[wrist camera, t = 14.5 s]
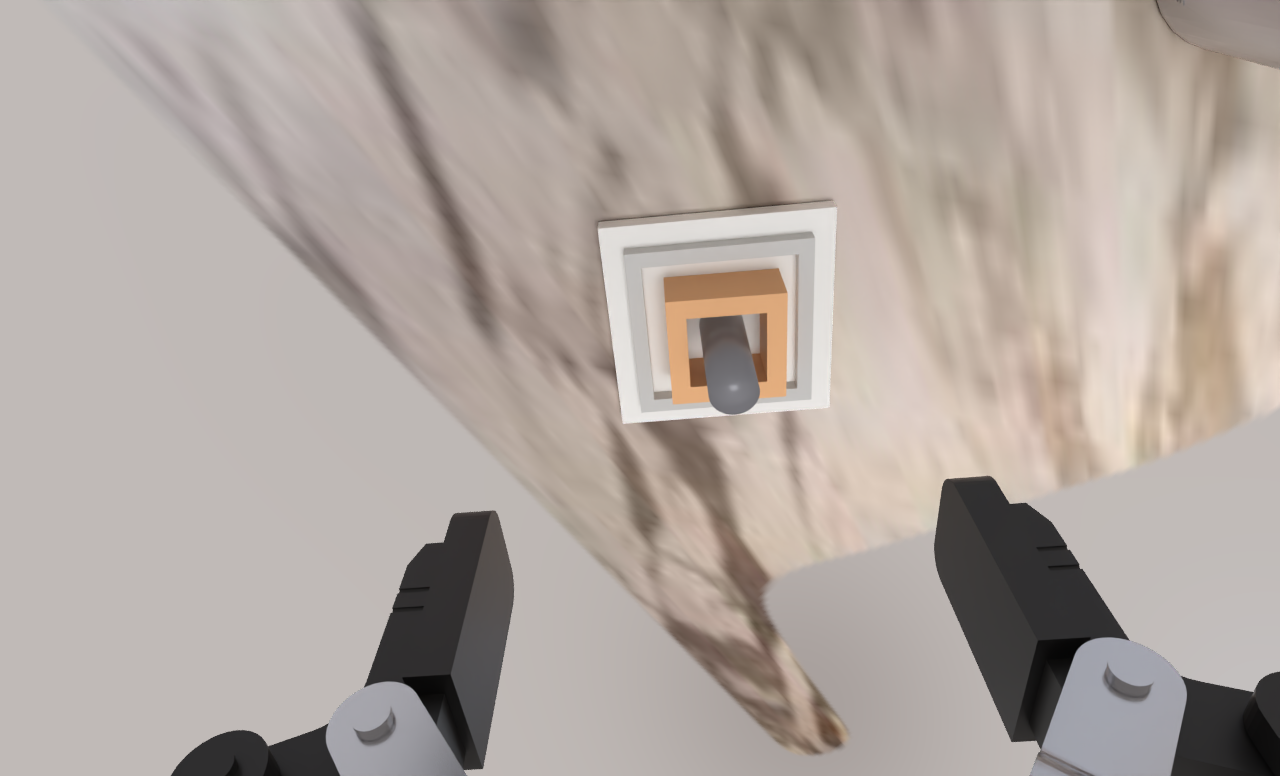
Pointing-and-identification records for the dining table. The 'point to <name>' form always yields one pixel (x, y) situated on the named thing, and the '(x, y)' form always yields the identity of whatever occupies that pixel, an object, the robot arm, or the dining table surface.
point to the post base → (657, 298)
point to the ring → (727, 299)
